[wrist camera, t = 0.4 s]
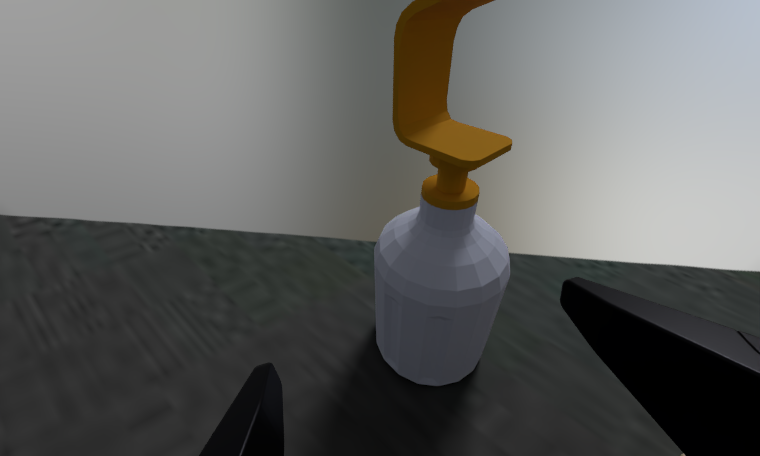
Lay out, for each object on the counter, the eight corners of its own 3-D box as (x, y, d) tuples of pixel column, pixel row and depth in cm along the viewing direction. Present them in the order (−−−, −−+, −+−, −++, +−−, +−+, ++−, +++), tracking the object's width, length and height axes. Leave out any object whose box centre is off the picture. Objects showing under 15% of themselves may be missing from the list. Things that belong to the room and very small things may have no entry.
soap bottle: (435, 416, 22) (550, -49, 7) (354, 333, 27) (320, -31, 12) (502, 338, 27) (654, -34, 12) (422, 281, 32) (457, -26, 17)
